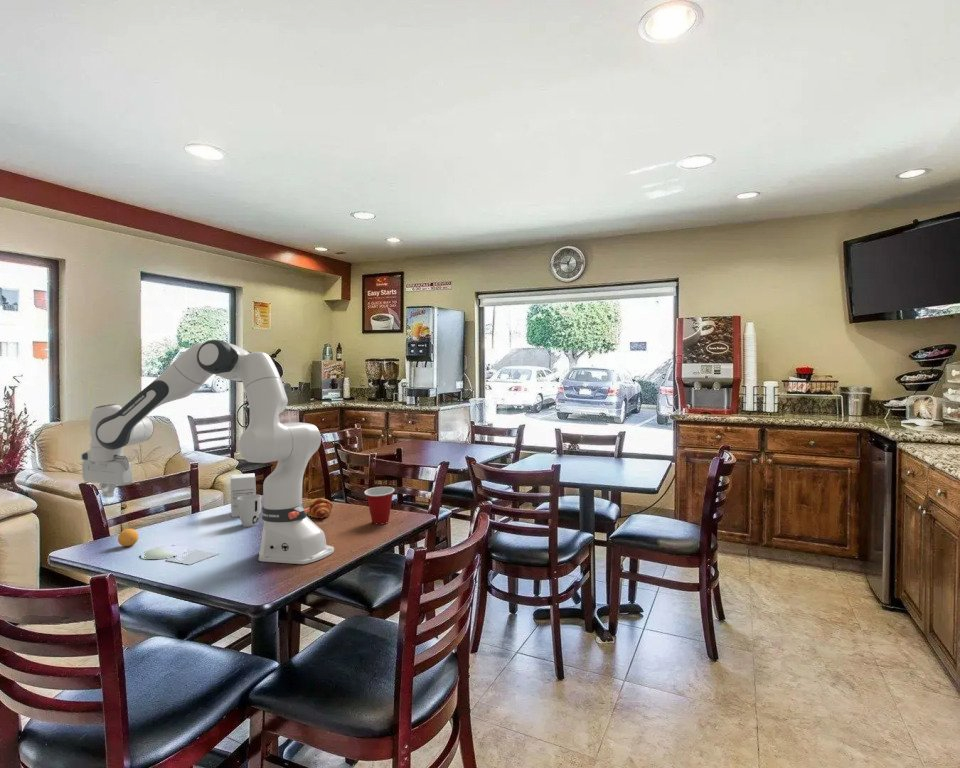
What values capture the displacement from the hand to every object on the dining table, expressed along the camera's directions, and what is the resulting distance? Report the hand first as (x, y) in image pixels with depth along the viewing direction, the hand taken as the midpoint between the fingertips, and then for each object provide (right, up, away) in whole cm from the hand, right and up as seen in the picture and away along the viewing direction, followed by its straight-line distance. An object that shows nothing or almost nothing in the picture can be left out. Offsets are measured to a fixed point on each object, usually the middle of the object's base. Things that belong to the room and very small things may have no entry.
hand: (108, 496), depth 175 cm
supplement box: (+28, -14, +36) cm, 48 cm away
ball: (+9, -12, -4) cm, 16 cm away
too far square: (+35, -15, -15) cm, 41 cm away
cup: (+38, -14, +20) cm, 45 cm away
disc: (+24, -15, -10) cm, 30 cm away
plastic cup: (+85, -14, +20) cm, 88 cm away
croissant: (+59, -14, +34) cm, 69 cm away
